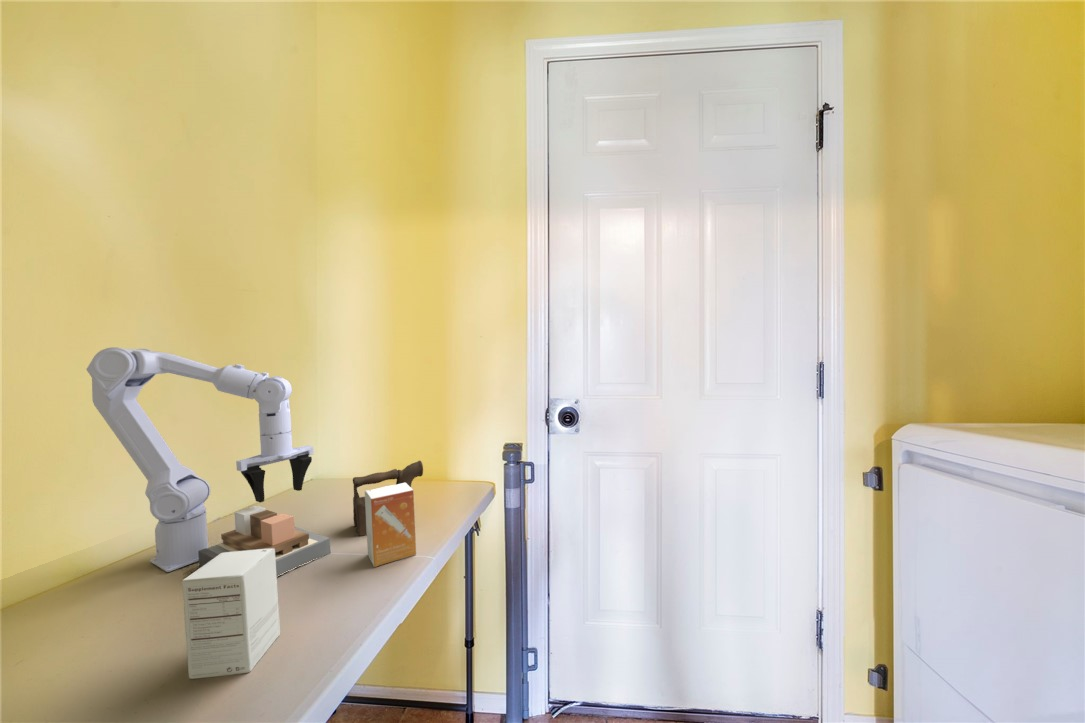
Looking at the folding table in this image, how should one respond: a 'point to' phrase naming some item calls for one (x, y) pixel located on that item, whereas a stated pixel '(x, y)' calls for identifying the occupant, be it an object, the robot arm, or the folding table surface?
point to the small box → (390, 523)
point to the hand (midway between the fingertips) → (279, 495)
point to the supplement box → (231, 612)
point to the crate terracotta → (277, 529)
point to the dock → (285, 562)
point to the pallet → (258, 543)
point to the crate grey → (245, 519)
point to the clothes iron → (400, 475)
